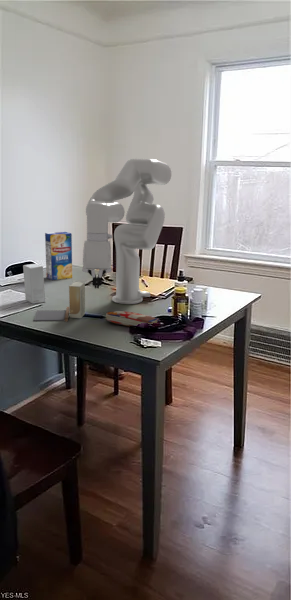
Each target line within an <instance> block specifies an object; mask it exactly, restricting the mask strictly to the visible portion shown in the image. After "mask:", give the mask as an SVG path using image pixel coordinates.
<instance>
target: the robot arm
mask: <svg viewBox="0 0 291 600" xmlns="http://www.w3.org/2000/svg"><path fill="white" fill-rule="evenodd" d="M171 169H172V168H171V166H170V165H169V164H167V163H166V162H163V161H160V160H157V159H154V158H130V159H129V160H127V161H126V162H125V164H124V165H123V167H122V168H121V169H120V171H119V173H118V174H117V176H116V177H115V179H114V180H112V181H111V182H108V183H107V184H105V185H103V186H101V187H100V188H98V189H97V190H96V191H95V192H94V193H93V194H92V196H91V197H90V199H89V200H88V202H87V204H86V207H85V216H86V240H84V242H83V250H82V269H81V271H82V272H84V273H88V274H89V275H90V276H91V278H92V287H93V286H94V289H100V287H101V286H102V277H104V275H105V274H107V273H111V272H112V250H111V249H112V247H111V241H109V239H112V238H113V240H114V245H115V252H116V253H115V255H116V266H115V267H116V271H115V272H116V273H115V277H116V278H115V281H116V282H115V283H116V284H115V289H116V290H115V295H113V296H112V302H114V303H117V304H122V305H123V304H124V305H134V304H135V305H136V304H140V303H142V302H143V298H144V297H145V298H147V297H149V298H150V297H151V291H150V292H149V291H145V290H144V291H141V289H140V265H141V264H140V263H141V262H140V256H139V253H138V251H137V250H146V251H150V250H152V249H154V248H155V246H156V244H158V243H157V242H158V239H159V236H160V235H161V232H162V230H163V226H164V224H165V223H164V222H165V215H166V213H165V210H164V208H163V206H162V205H160V204H156V203H153V202H154V194H153V192H152V191H151V189H150V188H149V186H148V185H156V186H157V185H158V186H159V185H160V186H162V185H167V184H169V182H170V181H171V179H172V170H171ZM131 196H133V197H132V199H131V201H130V204H129V206H128V208H127V211H126V212H125V207H124V205H122V203H121V202H118V201H119V200H123V199H126V198H128V197H131ZM125 213H126V215H125ZM124 216H125V220H126V221H125V222H126V223H123V224H119V225H118V226H117V227H116V228H115V230H114V233H113V235H112V234H110V233H109V223H118V222H120V221H122V220H123V218H124ZM96 270H98V274H96Z"/></svg>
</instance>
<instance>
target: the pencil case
mask: <svg viewBox="0 0 291 600" xmlns="http://www.w3.org/2000/svg"><path fill="white" fill-rule="evenodd" d="M105 318H106V319H105V320H106V321H108V322H111V323H114V324H116V325H120V326H126V327H130V326H136V325H138V324H141V323H148V324H153V323H157V322H158V321H159V322H160V318H157V317H153V316H151V315H147V314H142V313H137V312H134V311H125V310H124V311H121V310H114V311H108V312H106V314H105Z"/></svg>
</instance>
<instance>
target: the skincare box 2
mask: <svg viewBox="0 0 291 600" xmlns="http://www.w3.org/2000/svg"><path fill="white" fill-rule="evenodd" d="M68 293H69V294H68V295H69V296H68V297H69V298H68V299H69V301H68V302H69V318H71V319H72V318H74V319H82V318H83V316H85V314H86V284H85V282H80V281H77V282H76V281H73V282H72V283H70V285H68Z"/></svg>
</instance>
